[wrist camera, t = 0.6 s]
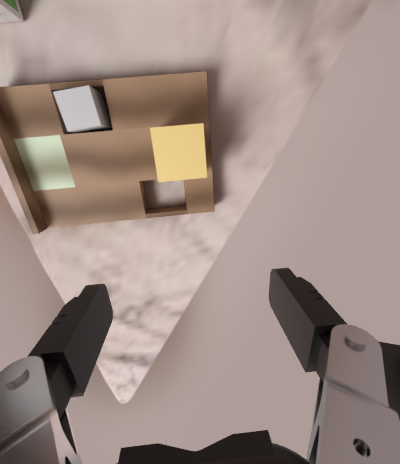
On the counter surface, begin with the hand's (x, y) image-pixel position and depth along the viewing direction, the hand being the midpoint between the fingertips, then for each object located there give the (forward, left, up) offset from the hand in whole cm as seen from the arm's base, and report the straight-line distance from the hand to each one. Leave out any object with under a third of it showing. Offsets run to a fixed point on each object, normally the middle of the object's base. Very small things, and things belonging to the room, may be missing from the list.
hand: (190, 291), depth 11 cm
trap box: (-6, -8, -24) cm, 26 cm away
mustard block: (-6, 0, -22) cm, 22 cm away
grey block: (-11, -11, -24) cm, 29 cm away
